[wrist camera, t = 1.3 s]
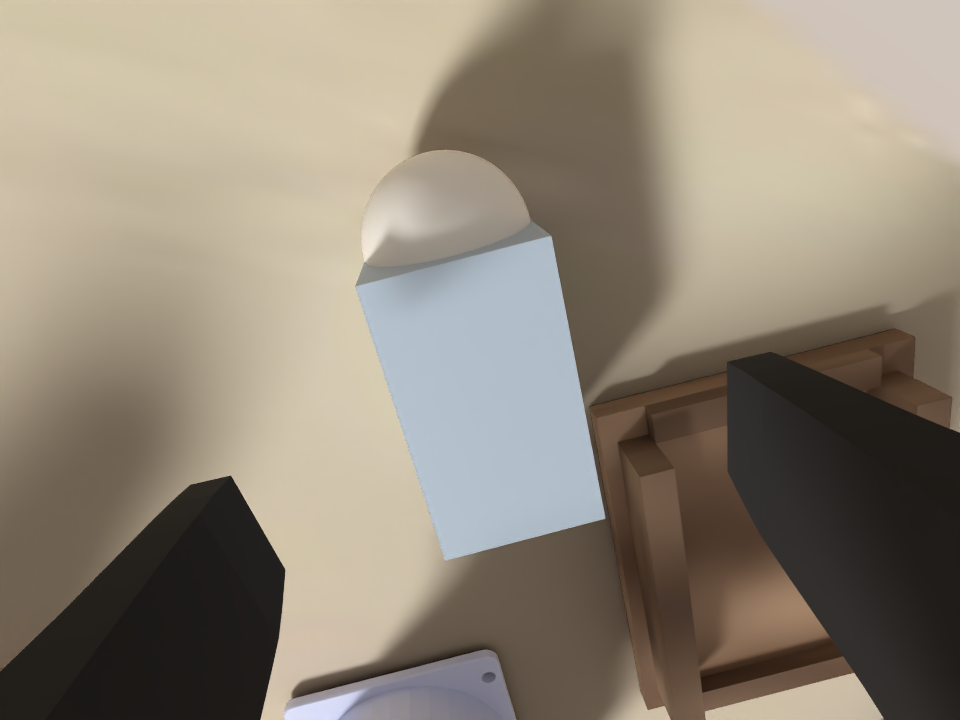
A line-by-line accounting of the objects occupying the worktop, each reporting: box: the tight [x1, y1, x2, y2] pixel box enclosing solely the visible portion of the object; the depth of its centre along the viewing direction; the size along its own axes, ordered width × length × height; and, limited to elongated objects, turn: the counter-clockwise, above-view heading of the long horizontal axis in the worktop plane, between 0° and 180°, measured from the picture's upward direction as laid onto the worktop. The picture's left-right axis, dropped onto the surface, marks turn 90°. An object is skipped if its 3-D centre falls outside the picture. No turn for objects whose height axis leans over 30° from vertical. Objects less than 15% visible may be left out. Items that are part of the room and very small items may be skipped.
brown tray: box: [590, 329, 952, 720], centre depth 20 cm, size 13×10×3 cm
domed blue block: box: [355, 150, 605, 561], centre depth 15 cm, size 9×4×5 cm, turn 13°
